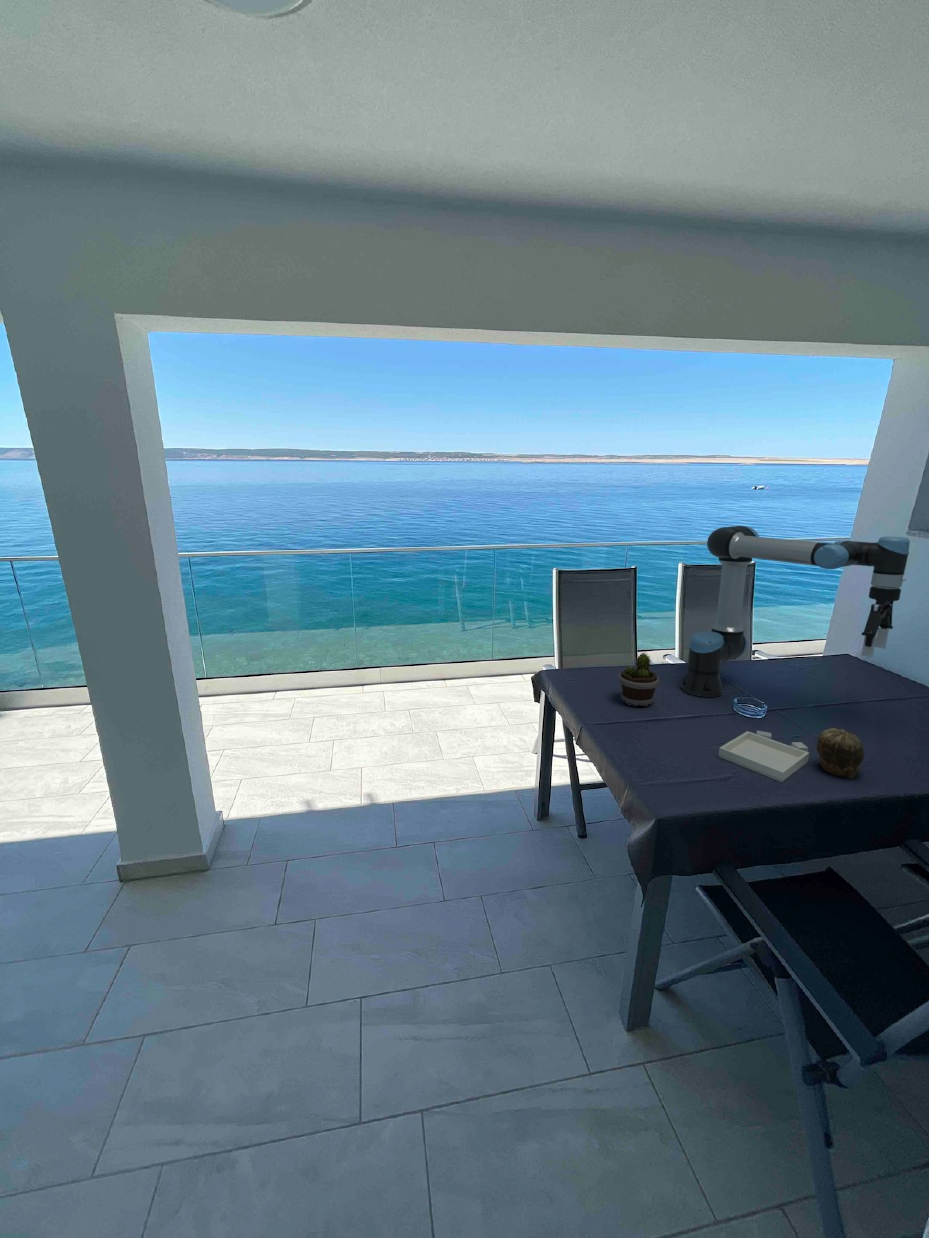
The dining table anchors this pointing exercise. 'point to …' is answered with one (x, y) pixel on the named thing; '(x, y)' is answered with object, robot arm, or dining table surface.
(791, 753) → the dish
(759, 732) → the pebble
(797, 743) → the pebble
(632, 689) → the flowerpot
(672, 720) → the dining table surface
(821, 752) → the shell
